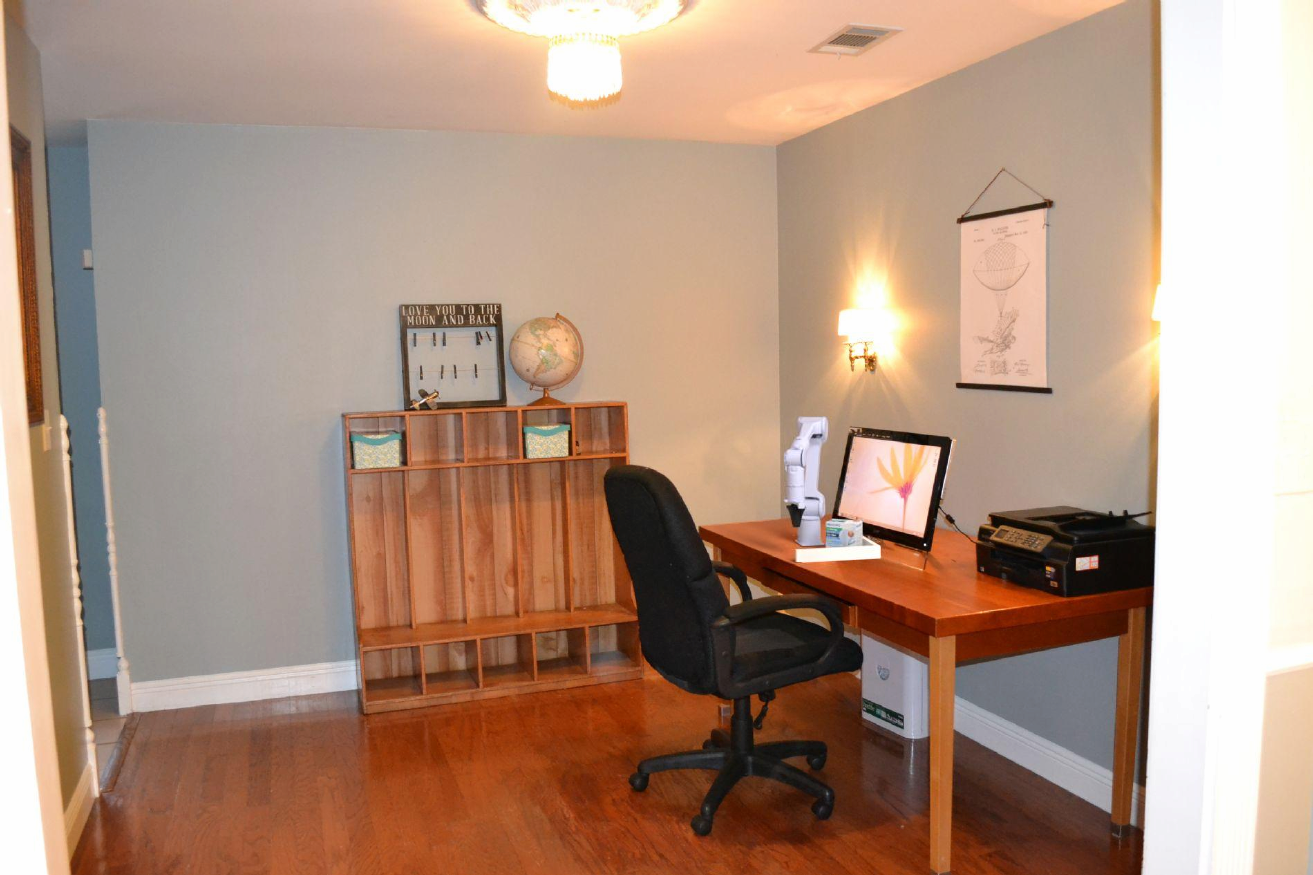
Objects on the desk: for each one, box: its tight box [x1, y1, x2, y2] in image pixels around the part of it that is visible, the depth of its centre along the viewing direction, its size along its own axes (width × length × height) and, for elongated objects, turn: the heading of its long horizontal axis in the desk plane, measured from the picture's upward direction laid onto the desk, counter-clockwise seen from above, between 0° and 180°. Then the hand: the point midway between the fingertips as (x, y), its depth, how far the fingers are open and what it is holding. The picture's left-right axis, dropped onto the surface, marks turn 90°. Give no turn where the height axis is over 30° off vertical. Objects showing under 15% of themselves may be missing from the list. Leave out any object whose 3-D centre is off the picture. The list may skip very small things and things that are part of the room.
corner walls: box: [794, 534, 882, 563], centre depth 331 cm, size 20×28×4 cm
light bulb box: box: [825, 518, 863, 548], centre depth 331 cm, size 11×7×11 cm, turn 59°
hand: (796, 527), depth 330 cm, fingers closed
